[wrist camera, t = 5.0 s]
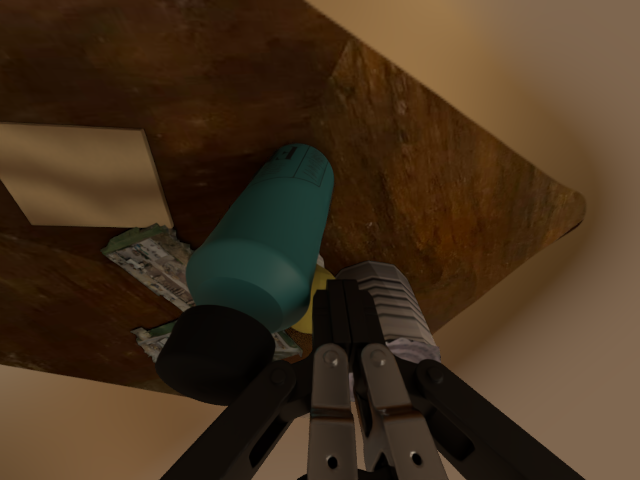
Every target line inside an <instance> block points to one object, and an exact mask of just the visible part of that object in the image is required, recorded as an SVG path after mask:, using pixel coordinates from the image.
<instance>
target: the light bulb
mask: <svg viewBox="0 0 640 480" xmlns="http://www.w3.org/2000/svg"><path fill="white" fill-rule="evenodd" d="M327 279H336V278H335V277H334V276H333V275H332V274H331V273H330V272H329V271H328V270H326V269H325V268H324V260H323V258H322V257H321V256H320V254H318V259H317V264H316V269H315V274H314V278H313V283H312V288H311V300H310V304H309V308H308V310H307V312H306V314H305V315H304V316H303V318H302V319H301V320H300V321H299V322H297V323H296V324H294V325H293V326H291V327H292V328H293V329H295V330H297V331H300V332H303V333H311V334H312V304H313V296H314V294H315V292H316V290H317V289H326V281H327Z"/></svg>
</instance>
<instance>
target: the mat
mask: <svg viewBox="0 0 640 480" xmlns="http://www.w3.org/2000/svg"><path fill="white" fill-rule="evenodd" d="M0 179H1V181H2V182H3V183H4V185H5V186H6V188H7V189H8V191H9V192H10V194H11V195H12V197H13V198H14V199H15V201H16V202H17V204H18V205H19V207H20V208H21V210H22V211H23V213H24V214H25V215H26V217H27V218H28V220H29V221H30V223H31V224H32V225H57V226H96V227H134V228H135V227H138V228H147V227H149V226H151V225H153V224H155V223H157V224H159V225H160V226H163V225H166V226H167V227H168V228H173V226H174V224H173V221H172V218H171V215H170V211H169V208H168V205H167V202H166V199H165V195H164V192H163V189H162V186H161V183H160V179H159V176H158V173H157V170H156V167H155V163H154V160H153V157H152V154H151V151H150V148H149V144H148V141H147V138H146V135H145V132H144V129H131V128H111V127H92V126H72V125H53V124H33V123H14V122H0Z"/></svg>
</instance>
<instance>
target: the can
mask: <svg viewBox="0 0 640 480" xmlns="http://www.w3.org/2000/svg"><path fill="white" fill-rule="evenodd" d="M335 278H336V279H341V280H342V279H356V280H357V282H358V287H359V290H368V292H369V293H370V294H371V295H372V297H373V299H374V302H375V306H376V310H377V313H378V314H377V315H378V317H379V321H380V324H381V328H382V332H383V335H384V339H385V342H386V345H387V347H388V348H389V349H390V350H391V352H392V353H393V354H394V355H396V356H397V357H399V358H401V359H404V360H407V361H411V362H414V363H417V364H418V363H419V362H420V361H422V360H424V359H433V360H436V361H438V362H440V363H441V359H440V358H441V356H440V352H439V347H437V346H436V344H435V342H434V340H433V337H432V335H431V333H430V331H429V328H428V326H427V324H426V321H425V319H424V317H423V314H422V312H421V310H420V307H419V305H418V303H417V301H416V298H415V296H414V294H413V291H412V289H411V287H410V284H409V282H408V280H407V278H406V277H405V276H404V275H403V274H402V273H401V272H400V271H399V270H398V269H397V268H396V267H395V266H394V265H393V264H386V263H380V262H374V261H365V262H362V263H359V264H356V265H353V266H350V267H347V268H344V269H342V270H341V271H340V272H339V273H338V274H337V275H336V276H335ZM353 385H354V378H353V373H349V386H350V401H353V402H355V399H354V394H353Z"/></svg>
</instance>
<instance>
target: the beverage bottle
mask: <svg viewBox="0 0 640 480" xmlns="http://www.w3.org/2000/svg"><path fill="white" fill-rule="evenodd" d="M288 144H289V143H288ZM276 150H277V149H276ZM273 152H274V151H273ZM268 157H269V156H268ZM325 157H326V156H325V155H324V154H323V153H321V152H319V150H317V149H316V148H314V147H312V146H310V145H309V146H308V145H306V144H305V145H304V144H302V143H301V144H290V145H285V146H283V147H280V149H278V150H277V151H275V152H274V154H273V155H272V156H271V157H270V158H269V160H268V161H267V162H265V161H264V162H265V165H264V166H263V167H261V166H262V165H261V166H260V169H259V170H258V171H257V172H256V173H255V174H254V175H253V177H254V176H255V175H256V176H255V177H254V178H253V177H252V178H253V180H252V181H251V179H250V181H251V182H250V184H249V185H248V186H247V187H246V189H245V190H244V191H242V194H241V195H240V196H239V197H238V199H237V200H236V201H235V202H234V204H233V205H232V206H231V207H230V205H229V210H228V211H227V213H226V214H225V216H224V217H223V219H222V220H221V221H220V223H219V224H218V223H217V224H218V225H217V226H216V228H215V229H214V230H213V232H212V233H211V234H210V235H209V237H208V238H207V239H206V241H205V242H204V243H203V244H202V246H200V247H199V248H198V249H197V250H196V251H195V252H194V253H193V255H192V256H191V257H190V259H189V261H188V263H187V267H186V275H185V276H186V282H187V286H188V289H189V292H190V294H191V296H192V298H193V300H194V303H195V304H196V306H193V307H190V308H188V309H186V310H185V311H184V312H183V313H182V314H181V315H180V317H179V318H178V320H177V321H176V323H175V325H174V326H173V328H172V332H171V334H170V336H169V338H168V339H167V341H166V343H165V345H164V346H163V348H162V350H161V352H160V353H159V355H158V357H157V361H156V363H155V369H156V372H157V374H158V375H159V377H160V378H161V379H162V380H163V381H164V382H165V383H166V384H167V385H168V386H170V387H171V388H173V389H174V390H176V391H177V392H179V393H181V394H183V395H185V396H187V397H190V398H192V399H195V400H198V401H201V402H204V403H209V404H214V405H221V406H229V405H230V404H231V403H232V402H233V400H234V399H235V398H236V397H237V396H238V395H239V394H240V393H241V392H242V391H243V390H244V389H245V388H246V387H247V385H248V384H249V383H250V382H251V381H252V380H253V379H254V378H255V377H256V376H257V375H258V374H259V373H260V372H261V371H262V369H263V368H264V367H265V366H266V365H267V364H269V363H271V362H272V359H273V356H274V353H275V348H276V344H275V340H274V338H273V336H272V334H273V333H276V332H279V331H282V330H285V329H287V328H289V327H291V326H293V325H294V324H296V323H297V322H299V321H300V320H301V319H302V318H303V316H304V315H305V314H306V312H307V310H308V308H309V304H310V300H311V288H312V283H313V278H314V274H315V269H316V264H317V259H318V254H319V250H320V245H321V241H322V236H323V232H324V228H325V224H326V220H328V219H327V215H328V210H329V208H330V207H329V205H330V200H331V195H332V190H333V186H334V175H333V171H332V168H331V166H330V164H329V162H328V159H326V158H325ZM247 184H248V183H247ZM245 185H246V184H245ZM334 187H335V186H334ZM333 194H334V191H333ZM236 197H237V196H236ZM234 199H235V198H234ZM332 199H333V196H332ZM231 202H232V201H231ZM331 203H332V200H331ZM330 206H331V205H330ZM329 211H330V210H329ZM329 215H330V214H329ZM329 215H328V216H329ZM221 216H222V215H221ZM328 218H329V217H328ZM219 220H220V219H219ZM328 221H329V220H328ZM218 222H219V221H218ZM327 224H328V223H327ZM324 235H325V234H324Z"/></svg>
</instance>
